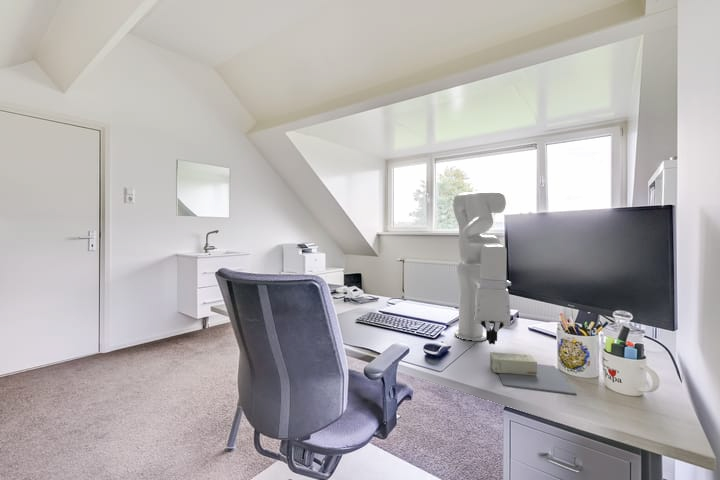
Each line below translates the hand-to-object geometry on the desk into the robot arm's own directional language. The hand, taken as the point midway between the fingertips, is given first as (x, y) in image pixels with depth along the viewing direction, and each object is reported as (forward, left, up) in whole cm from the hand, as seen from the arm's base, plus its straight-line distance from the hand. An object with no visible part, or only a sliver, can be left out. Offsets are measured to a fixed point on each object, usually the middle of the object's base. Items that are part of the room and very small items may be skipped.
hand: (491, 342), depth 100 cm
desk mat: (+1, +11, -9) cm, 14 cm away
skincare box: (0, 0, -6) cm, 6 cm away
